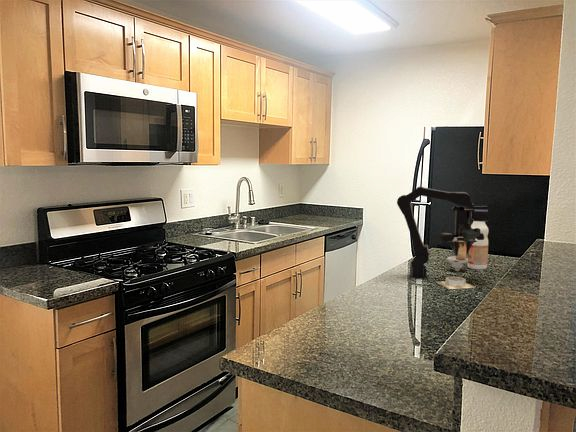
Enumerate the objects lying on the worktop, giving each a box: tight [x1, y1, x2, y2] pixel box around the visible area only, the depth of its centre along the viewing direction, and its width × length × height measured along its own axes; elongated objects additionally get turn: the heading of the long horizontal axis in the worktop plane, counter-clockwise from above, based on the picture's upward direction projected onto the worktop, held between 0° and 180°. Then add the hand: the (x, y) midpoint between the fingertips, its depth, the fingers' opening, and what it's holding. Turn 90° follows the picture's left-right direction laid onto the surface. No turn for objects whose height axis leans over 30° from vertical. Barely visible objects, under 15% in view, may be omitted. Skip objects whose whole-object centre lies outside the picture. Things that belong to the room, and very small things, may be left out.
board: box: [436, 280, 477, 290], centre depth 198 cm, size 12×12×1 cm
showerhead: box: [447, 255, 468, 272], centre depth 227 cm, size 9×7×10 cm
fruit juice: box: [466, 220, 490, 270], centre depth 232 cm, size 9×9×28 cm
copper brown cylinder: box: [454, 240, 467, 260], centre depth 205 cm, size 4×4×8 cm
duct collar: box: [445, 276, 467, 287], centre depth 198 cm, size 8×8×2 cm
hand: (460, 255), depth 205 cm, fingers closed on copper brown cylinder, 4 cm apart
